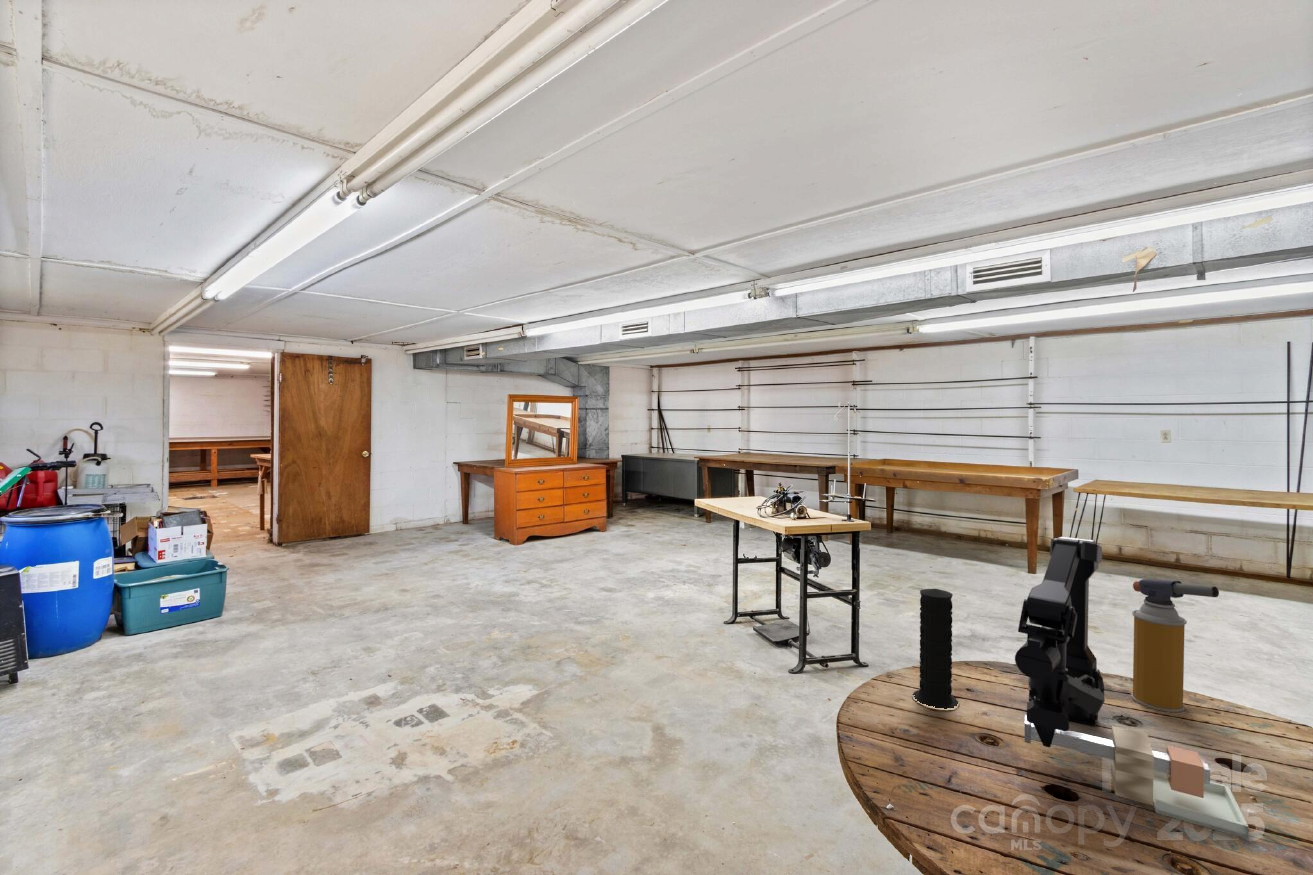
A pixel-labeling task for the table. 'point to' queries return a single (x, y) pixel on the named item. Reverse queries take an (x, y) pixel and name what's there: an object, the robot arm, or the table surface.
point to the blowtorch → (1161, 643)
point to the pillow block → (1132, 765)
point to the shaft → (1099, 747)
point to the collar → (1186, 771)
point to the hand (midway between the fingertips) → (1046, 743)
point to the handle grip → (936, 649)
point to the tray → (1200, 806)
